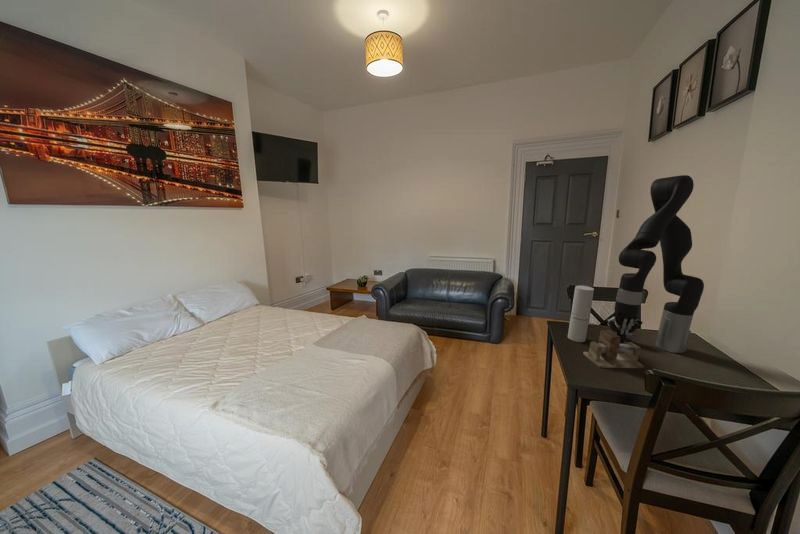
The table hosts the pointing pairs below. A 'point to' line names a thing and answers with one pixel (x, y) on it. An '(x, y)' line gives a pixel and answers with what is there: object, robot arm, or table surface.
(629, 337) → the beverage can
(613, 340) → the brown rectangular block
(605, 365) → the pipe rack
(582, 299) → the cylindrical container
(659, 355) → the table surface
